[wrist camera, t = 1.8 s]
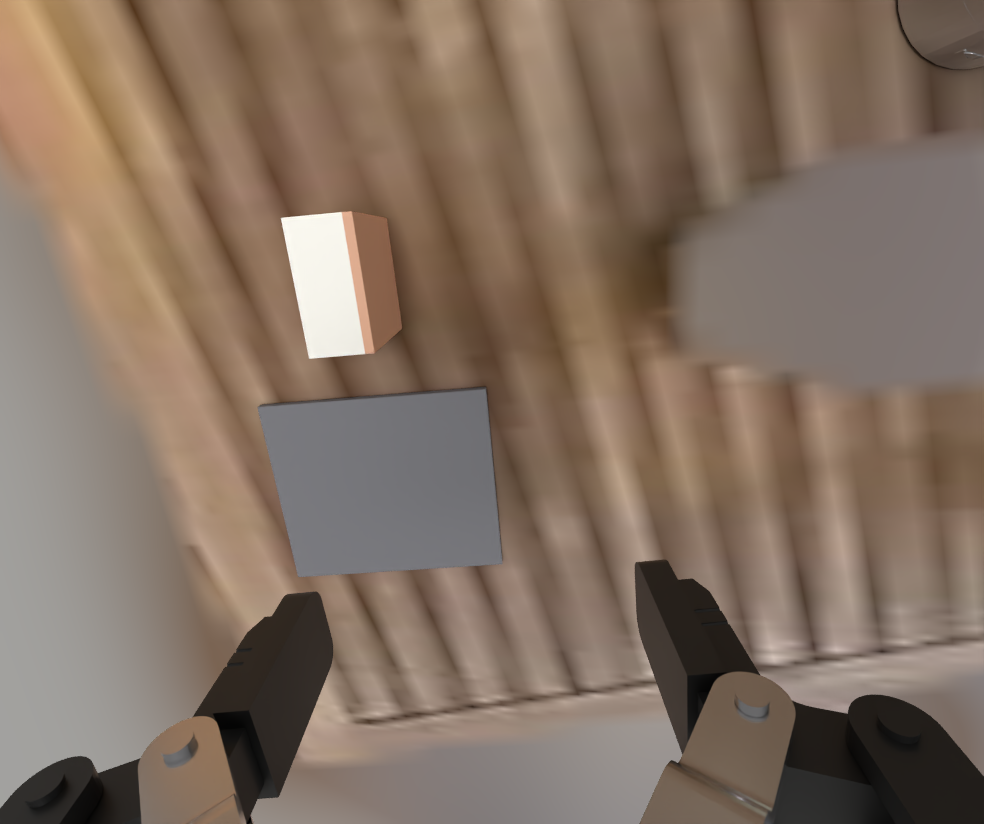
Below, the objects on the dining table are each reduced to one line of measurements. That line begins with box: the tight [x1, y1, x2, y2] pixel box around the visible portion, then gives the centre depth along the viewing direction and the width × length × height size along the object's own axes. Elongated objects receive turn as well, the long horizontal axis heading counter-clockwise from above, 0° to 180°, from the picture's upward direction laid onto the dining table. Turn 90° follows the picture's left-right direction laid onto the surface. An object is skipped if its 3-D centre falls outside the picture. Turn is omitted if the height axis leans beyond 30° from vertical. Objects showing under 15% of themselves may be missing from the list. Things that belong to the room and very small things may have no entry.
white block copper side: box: [281, 211, 402, 359], centre depth 30 cm, size 7×4×8 cm, turn 5°
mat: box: [258, 387, 502, 577], centre depth 38 cm, size 14×16×1 cm
